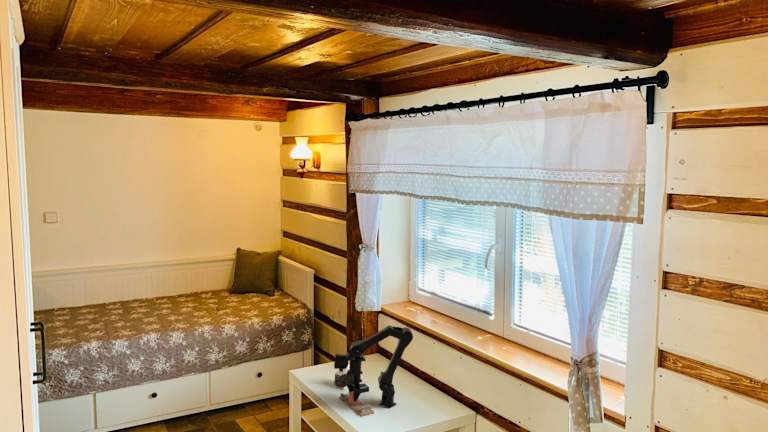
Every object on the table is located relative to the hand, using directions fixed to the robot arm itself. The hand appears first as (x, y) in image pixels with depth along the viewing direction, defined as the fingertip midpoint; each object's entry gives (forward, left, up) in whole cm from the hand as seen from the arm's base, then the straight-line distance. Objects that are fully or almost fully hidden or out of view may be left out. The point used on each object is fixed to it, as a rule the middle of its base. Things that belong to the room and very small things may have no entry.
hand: (353, 400), depth 271 cm
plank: (+1, +3, -2) cm, 3 cm away
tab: (-1, -3, -1) cm, 4 cm away
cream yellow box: (-14, -17, -2) cm, 22 cm away
